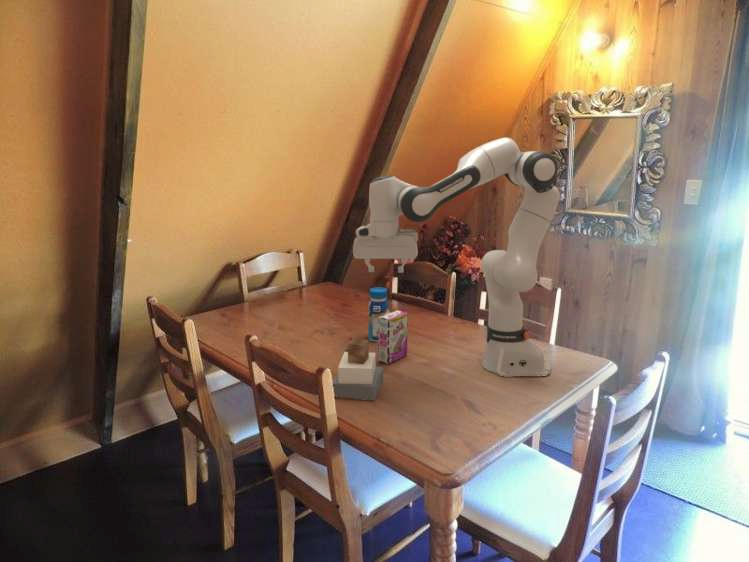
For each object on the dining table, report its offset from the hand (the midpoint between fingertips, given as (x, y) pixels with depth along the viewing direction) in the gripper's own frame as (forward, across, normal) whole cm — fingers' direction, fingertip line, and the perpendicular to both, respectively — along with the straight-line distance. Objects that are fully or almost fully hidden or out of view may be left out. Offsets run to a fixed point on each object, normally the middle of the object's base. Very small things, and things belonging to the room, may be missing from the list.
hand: (386, 272), depth 176 cm
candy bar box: (+35, +1, -13) cm, 37 cm away
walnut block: (+25, +7, +13) cm, 29 cm away
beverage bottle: (+35, +10, -32) cm, 48 cm away
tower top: (+30, +8, +13) cm, 33 cm away
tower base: (+35, +8, +13) cm, 38 cm away
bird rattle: (+34, +13, -3) cm, 37 cm away
